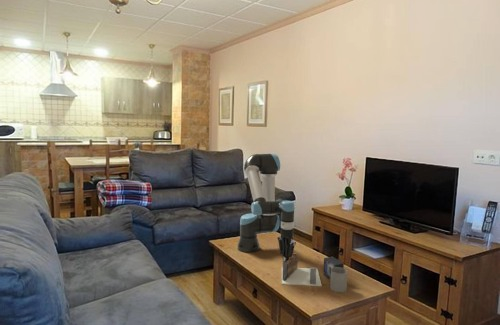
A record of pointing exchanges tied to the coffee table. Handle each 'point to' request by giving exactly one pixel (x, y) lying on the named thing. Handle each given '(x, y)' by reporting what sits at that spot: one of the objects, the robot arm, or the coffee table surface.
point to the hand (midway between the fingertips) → (285, 267)
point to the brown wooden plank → (292, 264)
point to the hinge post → (284, 271)
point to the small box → (331, 265)
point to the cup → (338, 279)
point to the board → (301, 278)
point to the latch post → (312, 275)
